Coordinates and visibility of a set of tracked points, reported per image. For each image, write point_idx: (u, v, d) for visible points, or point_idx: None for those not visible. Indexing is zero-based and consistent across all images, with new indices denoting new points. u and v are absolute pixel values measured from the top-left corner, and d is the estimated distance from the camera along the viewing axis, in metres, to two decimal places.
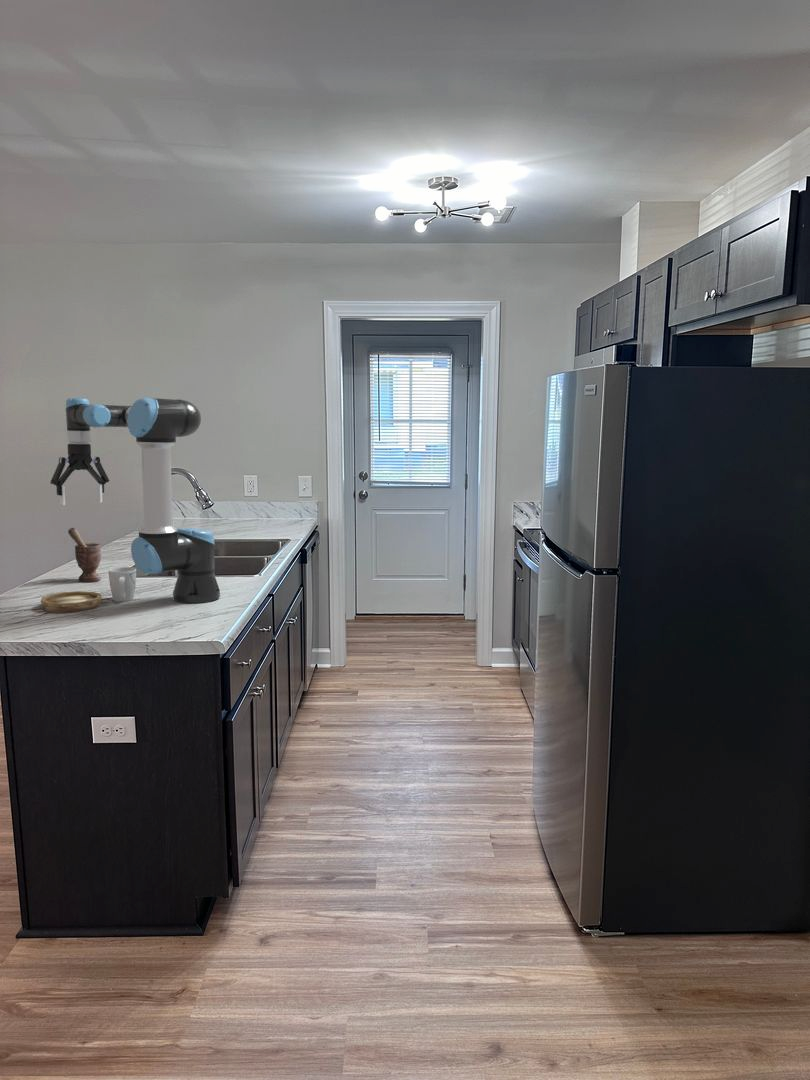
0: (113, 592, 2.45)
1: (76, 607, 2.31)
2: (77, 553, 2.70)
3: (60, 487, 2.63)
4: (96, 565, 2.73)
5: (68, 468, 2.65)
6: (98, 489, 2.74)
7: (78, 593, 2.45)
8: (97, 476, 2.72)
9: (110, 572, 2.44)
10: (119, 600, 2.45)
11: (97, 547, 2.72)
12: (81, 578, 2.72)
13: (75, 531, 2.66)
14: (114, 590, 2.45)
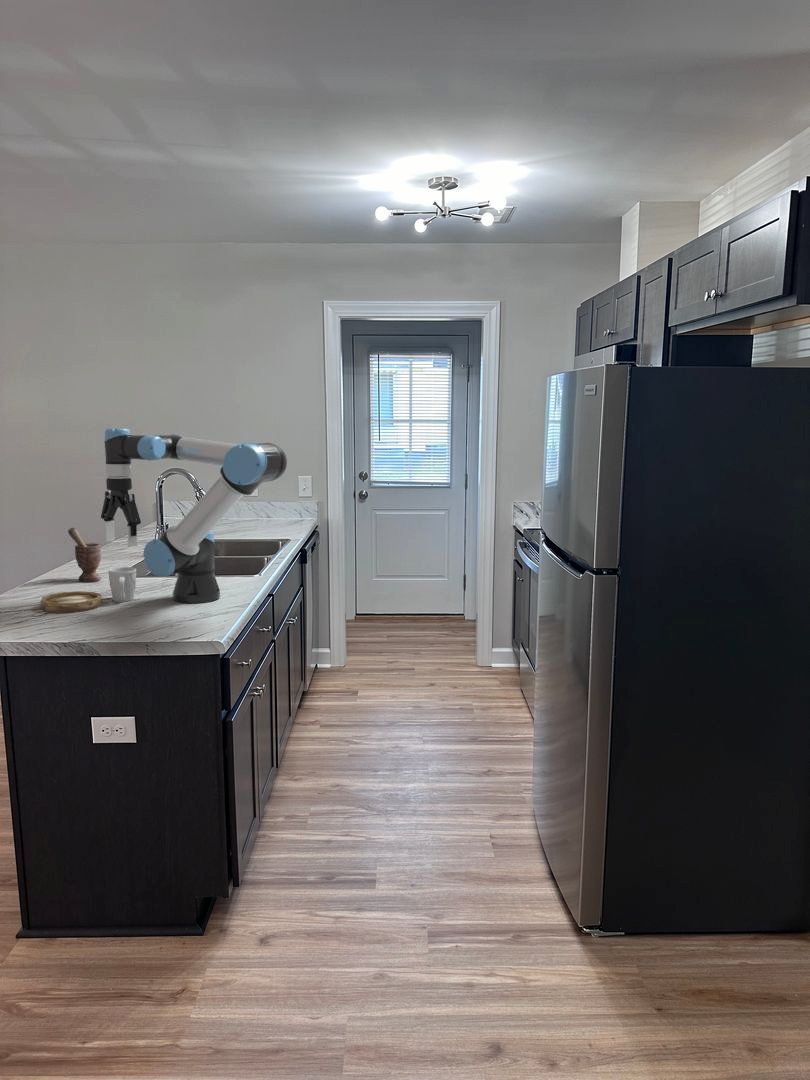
0: (113, 592, 2.45)
1: (76, 607, 2.31)
2: (77, 553, 2.70)
3: None
4: (96, 565, 2.73)
5: None
6: None
7: (78, 593, 2.45)
8: (126, 516, 2.39)
9: (110, 572, 2.44)
10: (119, 600, 2.45)
11: (97, 547, 2.72)
12: (81, 578, 2.72)
13: (75, 531, 2.66)
14: (114, 590, 2.45)
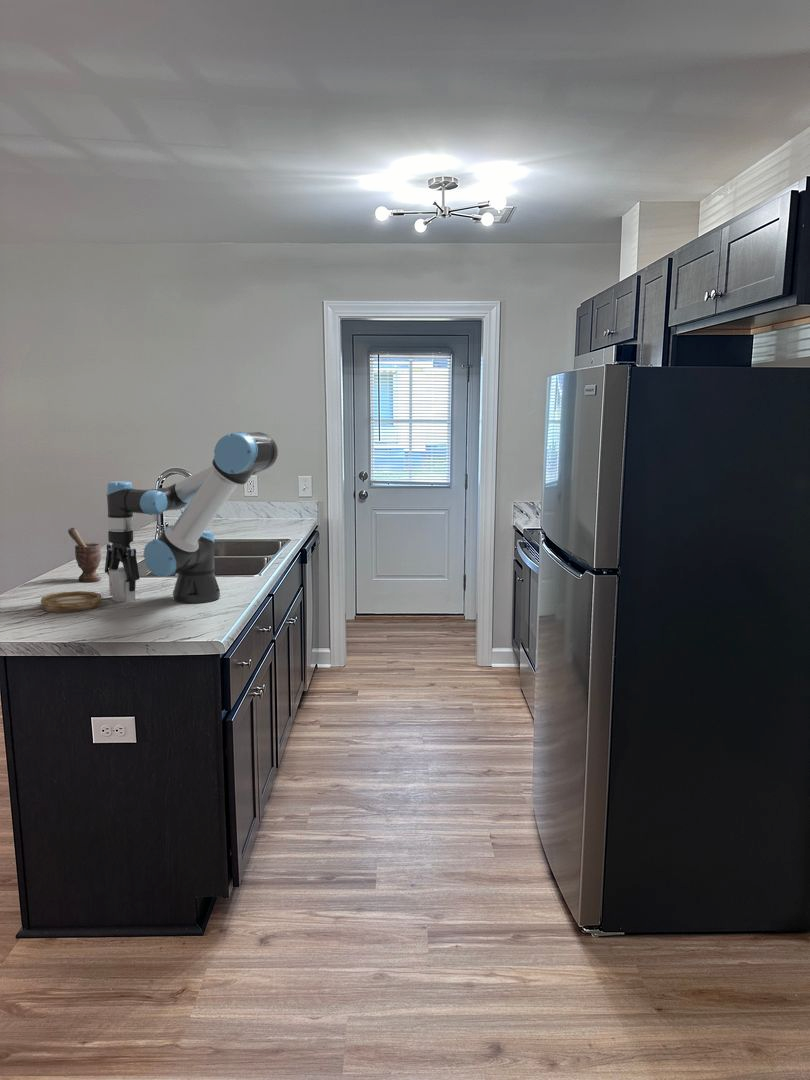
0: (113, 592, 2.45)
1: (76, 607, 2.31)
2: (77, 553, 2.70)
3: None
4: (96, 565, 2.73)
5: None
6: None
7: (78, 593, 2.45)
8: (125, 571, 2.42)
9: (110, 572, 2.44)
10: (119, 600, 2.45)
11: (97, 547, 2.72)
12: (81, 578, 2.72)
13: (75, 531, 2.66)
14: (114, 590, 2.44)
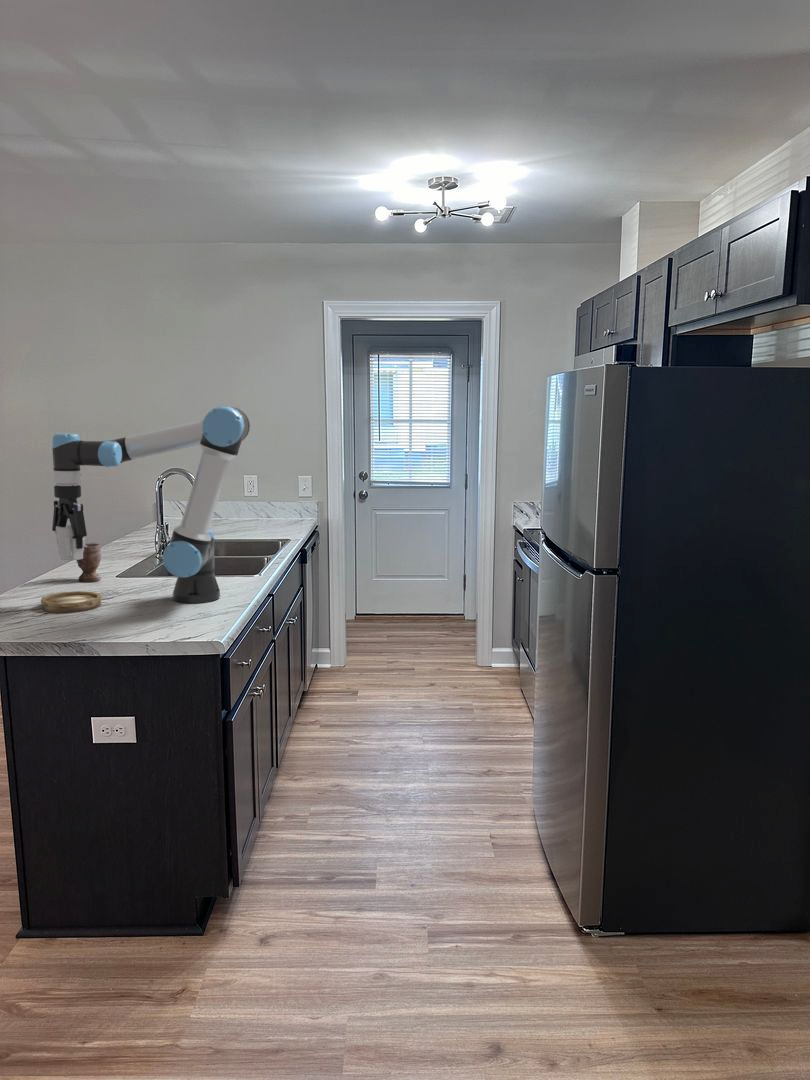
0: (60, 550, 2.34)
1: (76, 607, 2.31)
2: None
3: None
4: (96, 565, 2.73)
5: None
6: None
7: (78, 593, 2.45)
8: (72, 527, 2.31)
9: (57, 529, 2.33)
10: (66, 559, 2.34)
11: (97, 547, 2.72)
12: (81, 578, 2.72)
13: None
14: (61, 548, 2.33)
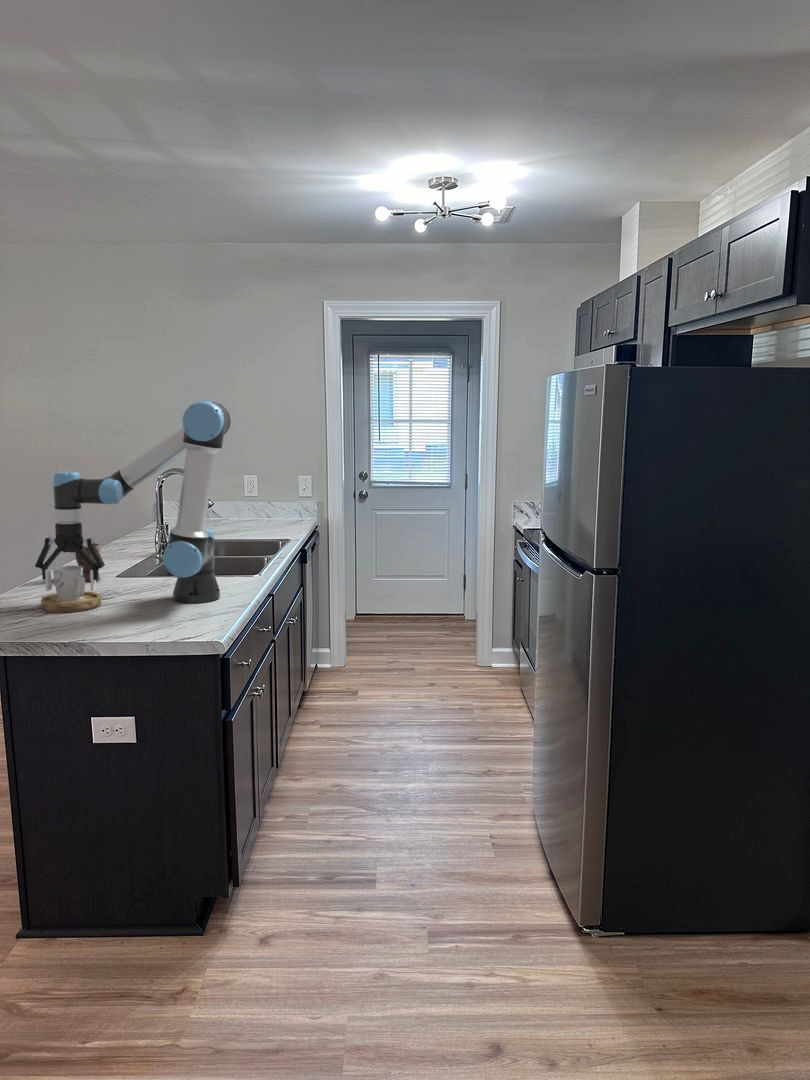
0: (66, 592, 2.35)
1: (76, 607, 2.31)
2: (77, 553, 2.70)
3: (44, 570, 2.35)
4: None
5: None
6: None
7: None
8: (87, 561, 2.35)
9: (63, 571, 2.33)
10: (72, 599, 2.36)
11: (97, 547, 2.72)
12: None
13: None
14: (68, 590, 2.35)
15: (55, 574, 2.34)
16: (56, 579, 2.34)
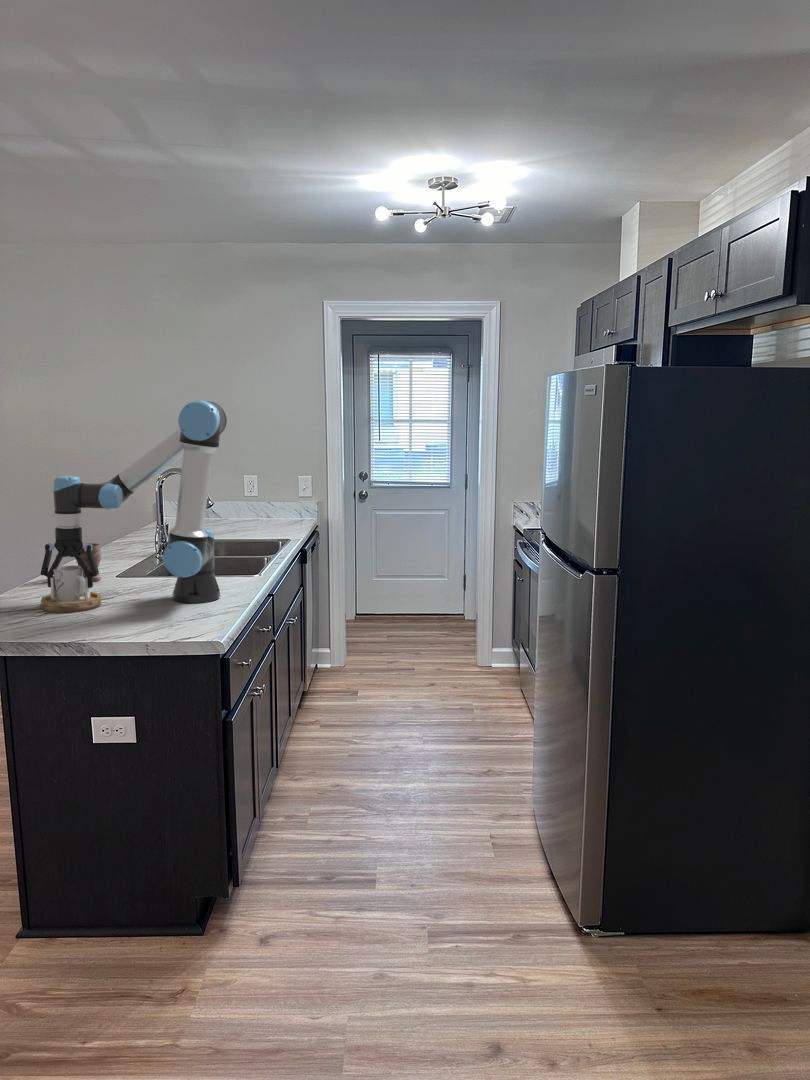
0: (66, 592, 2.35)
1: (76, 607, 2.31)
2: None
3: (49, 578, 2.36)
4: None
5: None
6: None
7: None
8: (83, 567, 2.36)
9: (63, 571, 2.33)
10: (72, 599, 2.36)
11: (97, 547, 2.72)
12: None
13: None
14: (68, 590, 2.35)
15: (55, 574, 2.34)
16: (56, 579, 2.34)
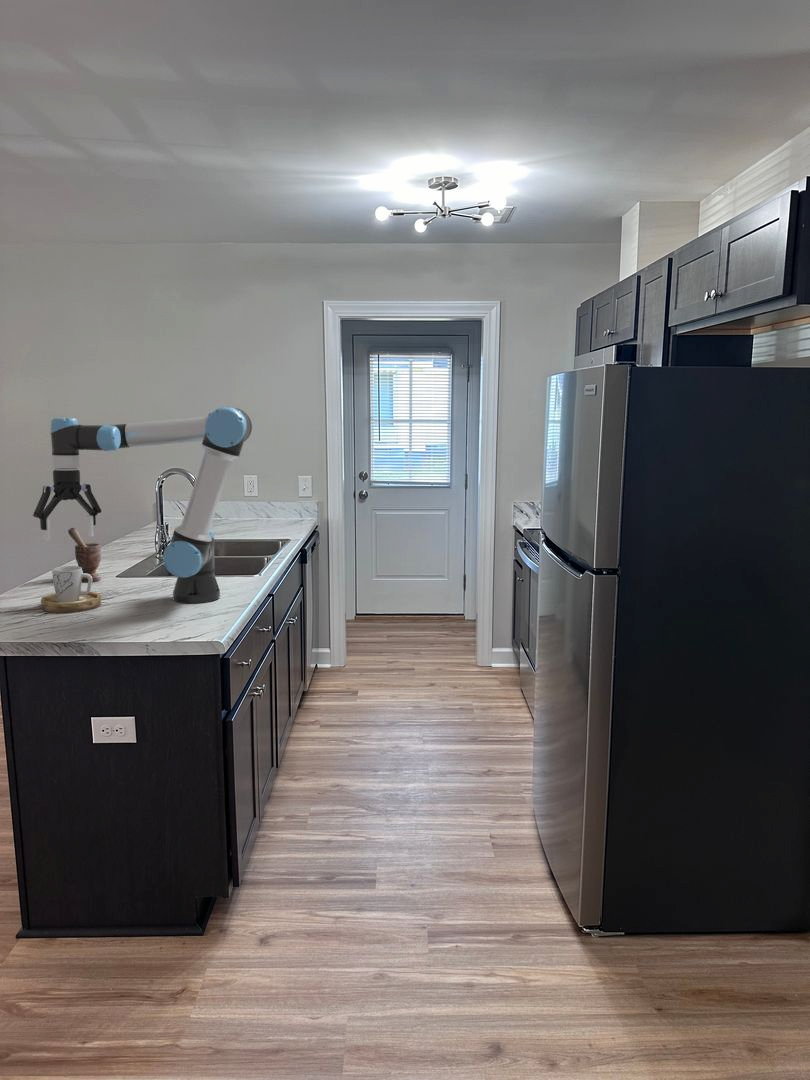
0: (74, 592, 2.35)
1: (76, 607, 2.31)
2: (77, 553, 2.70)
3: (44, 520, 2.28)
4: (96, 565, 2.73)
5: (54, 498, 2.30)
6: (89, 521, 2.39)
7: None
8: (87, 506, 2.37)
9: (72, 571, 2.33)
10: (77, 599, 2.37)
11: (97, 547, 2.72)
12: None
13: (75, 531, 2.66)
14: (76, 589, 2.35)
15: (62, 575, 2.32)
16: (63, 580, 2.33)
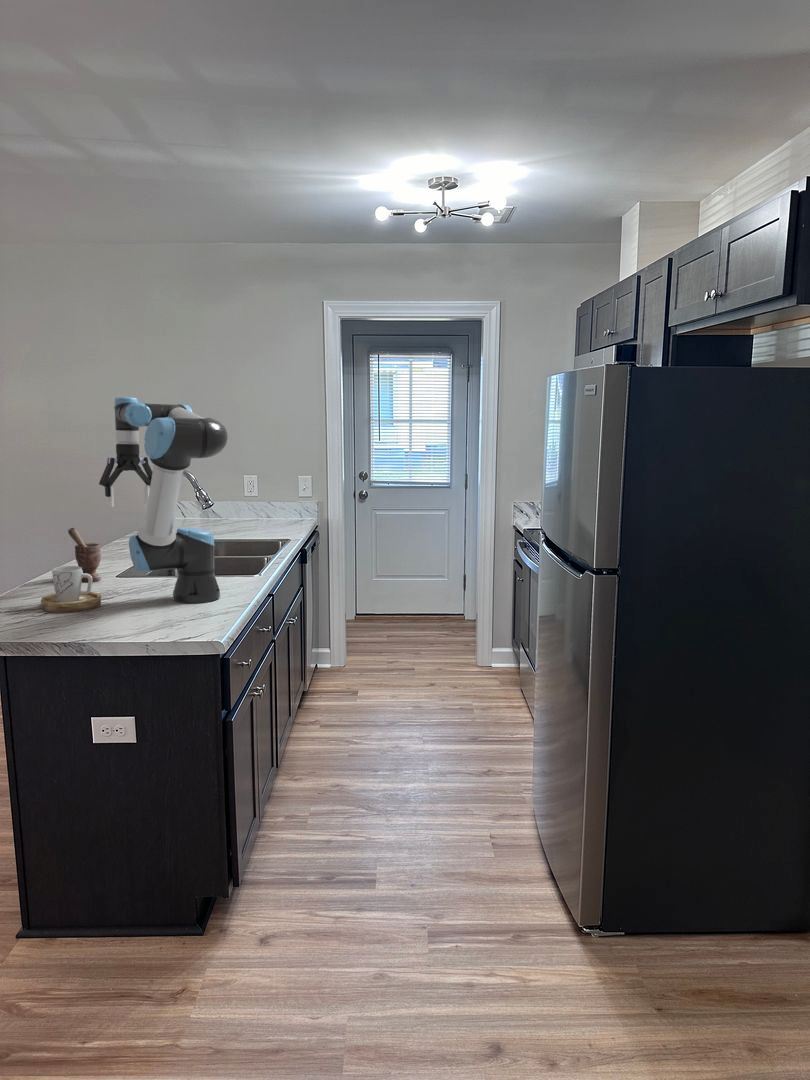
0: (74, 592, 2.35)
1: (76, 607, 2.31)
2: (77, 553, 2.70)
3: (109, 488, 2.56)
4: (96, 565, 2.73)
5: (116, 469, 2.58)
6: (146, 490, 2.67)
7: None
8: (145, 477, 2.65)
9: (72, 571, 2.33)
10: (77, 599, 2.37)
11: (97, 547, 2.72)
12: None
13: (75, 531, 2.66)
14: (76, 589, 2.35)
15: (62, 575, 2.32)
16: (63, 580, 2.33)
